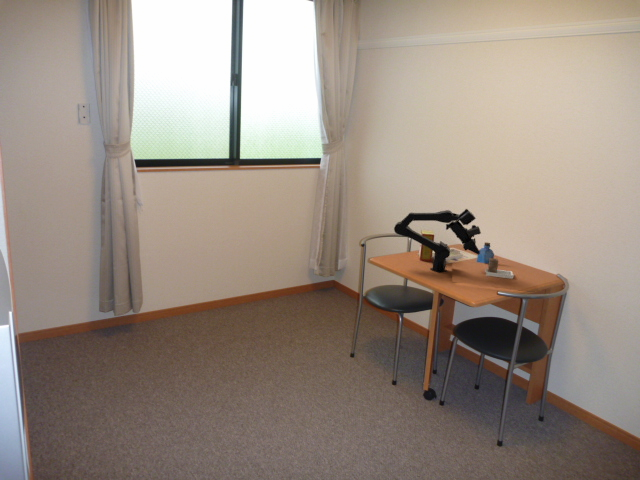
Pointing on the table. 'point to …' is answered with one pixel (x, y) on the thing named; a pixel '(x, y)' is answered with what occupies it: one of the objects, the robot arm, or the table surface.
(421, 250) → the baking soda box
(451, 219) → the robot arm
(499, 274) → the trap track
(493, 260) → the block
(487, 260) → the perfume bottle
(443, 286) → the table surface
